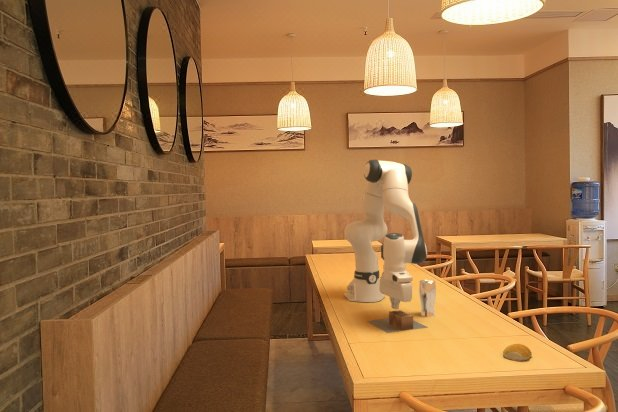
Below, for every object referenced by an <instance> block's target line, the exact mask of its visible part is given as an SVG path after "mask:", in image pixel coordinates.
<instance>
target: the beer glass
mask: <svg viewBox="0 0 618 412" xmlns="http://www.w3.org/2000/svg"><path fill="white" fill-rule="evenodd" d="M418 283H419V285H418V286H419V287H418V294H419V295H418V296H419V301H420V307H421V310H420V316H422V317H425V318H430V317H431V318H432V317H436V315H435V314H436V313H435V303H436V298H437V297H436V295H437V287H436V286H437V285H436V281H435V280H433V279H421V280H419V282H418Z"/></svg>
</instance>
